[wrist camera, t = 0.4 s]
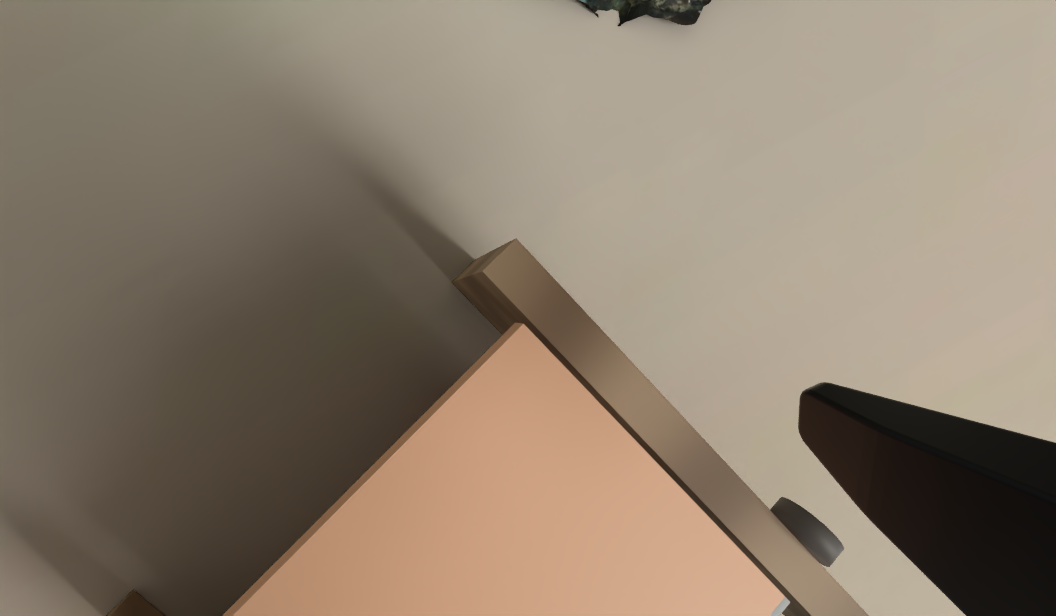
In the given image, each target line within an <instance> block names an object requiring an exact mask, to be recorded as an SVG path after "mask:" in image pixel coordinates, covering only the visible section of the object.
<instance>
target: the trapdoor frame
mask: <svg viewBox="0 0 1056 616" xmlns="http://www.w3.org/2000/svg"><path fill="white" fill-rule="evenodd" d="M452 283H453V284H454V285H455V286H456V287H457V288H458V289H459V290H460V291H461V292H462V293H463V294H464V295H465V296H466V297H467V298H468V299H469V301H470V302H471V303H472V304H473V305H474V306H475V307H476V308H477V309H478V310H479V311H480V312H481V313H482V314H483V315H484V316H485V317H486V318H487V319H488V320H489V321H490V322H491V323H492V324H493V325H494V326H495V327H496V328H497V329H498V330H499V331H500V332H501V334H502V335H503V334H504V333H505V332H506V331H507V330H508V329H509V328H510V327H511V326H512V325H513V324H514V323H523V324H524V325H525V326H526V327H527V328H528V329H529V330H530V331H531V332H532V333H533V334H534V335H535V336H536V337H537V338H538V339H539V340H540V341H541V342H542V343H543V344H544V345H545V346H546V348H547V349H548V350H549V351H550V352H551V353H552V354H553V355H554V356H555V357H556V358H557V359H558V360H559V361H560V362H561V363H562V364H563V365H564V366H565V367H566V368H567V369H568V370H569V372H570V373H571V374H572V375H573V376H574V377H575V378H576V379H577V380H578V381H579V382H580V383H581V384H582V385H583V386H584V387H585V388H586V389H587V390H588V391H589V392H590V393H591V394H592V396H593V397H594V398H595V399H596V400H597V401H598V402H599V403H600V404H601V405H602V406H603V407H604V408H605V409H606V410H607V411H608V412H609V413H610V414H611V415H612V416H613V417H614V418H615V419H616V421H617V422H618V423H619V424H620V425H621V426H622V427H623V428H624V429H625V430H626V431H627V432H628V433H629V434H630V435H631V436H632V437H633V438H634V439H635V440H636V441H637V442H638V443H639V445H640V446H641V447H642V448H643V449H644V450H645V451H646V452H647V453H648V454H649V455H650V456H651V457H652V458H653V459H654V460H655V461H656V462H657V463H658V464H659V465H660V466H661V467H662V469H663V470H664V471H665V472H666V473H667V474H668V475H669V476H670V477H671V478H672V479H673V480H674V481H675V482H676V483H677V484H678V485H679V486H680V487H681V488H682V489H683V490H684V491H685V493H686V494H687V495H688V496H689V497H690V498H691V499H692V500H693V501H694V502H695V503H696V504H697V505H698V506H699V507H700V508H701V509H702V510H703V511H704V512H705V513H706V514H707V515H708V516H709V518H710V519H711V520H712V521H713V522H714V523H715V524H716V525H717V526H718V527H719V528H720V529H721V530H722V531H723V532H724V533H725V534H726V535H727V536H728V537H729V538H730V539H731V540H732V542H733V543H734V544H735V545H736V546H737V547H738V548H739V549H740V550H741V551H742V552H743V553H744V554H745V555H746V556H747V557H748V558H749V559H750V560H751V561H752V562H753V563H754V564H755V566H756V567H757V568H758V569H759V570H760V571H761V572H762V573H763V574H764V575H765V576H766V577H767V578H768V579H769V580H770V581H771V582H772V583H773V584H774V585H775V586H776V587H777V588H778V590H779V591H780V592H781V593H782V594H783V595H784V596H785V597H786V598H787V599H788V600H789V601H790V604H789V605H788V606H787V607H786V608H785V610H784V611H783V612H782V614H783V615H785V616H868V614H867V613H866V612H865V611H864V610H863V609H862V608H861V607H860V606H859V605H858V604H857V603H856V602H855V601H854V599H853V598H852V597H851V596H850V595H849V594H848V593H847V592H846V591H845V590H844V589H843V588H842V587H841V586H840V584H839V583H838V582H837V581H836V580H835V579H834V578H833V577H832V576H831V575H830V574H829V573H828V572H827V571H826V569H825V568H824V567H823V566H822V565H824V566H827V567H830V565H831V564H832V563H833V562H834V561H835V559H836V558H837V557H838V556H839V554H840V553H841V552H842V551H843V550H844V547H843V545H842V543H841V542H840V541H839V539H838V538H837V537H836V536H835V535H834V534H833V533H832V532H831V531H830V530H829V529H828V528H827V527H826V526H825V525H824V524H823V523H822V522H820V521H819V520H818V519H817V518H816V517H814V516H813V515H812V514H811V513H809V512H808V511H807V510H805V509H804V508H802V507H801V506H799V505H798V504H796V503H794V502H793V501H791V500H789V499H787V498H783V497H781V498H780V499H779V500H778V501H777V502H776V504H775V505H774V506H773V507H772V508H771V509H770V510H769V508H768V507H767V506H766V505H765V504H764V503H763V502H762V501H761V500H760V499H759V498H758V497H757V496H756V495H755V493H754V492H753V491H752V490H751V489H750V488H749V487H748V486H747V485H746V484H745V483H744V482H743V481H742V480H741V478H740V477H739V476H738V475H737V474H736V473H735V472H734V471H733V470H732V469H731V468H730V467H729V466H728V465H727V463H726V462H725V461H724V460H723V459H722V458H721V457H720V456H719V455H718V454H717V453H716V452H715V451H714V450H713V448H712V447H711V446H710V445H709V444H708V443H707V442H706V441H705V440H704V439H703V438H702V437H701V436H700V435H699V433H698V432H697V431H696V430H695V429H694V428H693V427H692V426H691V425H690V424H689V423H688V422H687V421H686V420H685V419H684V417H683V416H682V415H681V414H680V413H679V412H678V411H677V410H676V409H675V408H674V407H673V406H672V405H671V404H670V402H669V401H668V400H667V399H666V398H665V397H664V396H663V395H662V394H661V393H660V392H659V391H658V390H657V389H656V387H655V386H654V385H653V384H652V383H651V382H650V381H649V380H648V379H647V378H646V377H645V376H644V375H643V374H642V372H641V371H640V370H639V369H638V368H637V367H636V366H635V365H634V364H633V363H632V362H631V361H630V360H629V359H628V357H627V356H626V355H625V354H624V353H623V352H622V351H621V350H620V349H619V348H618V347H617V346H616V345H615V344H614V342H613V341H612V340H611V339H610V338H609V337H608V336H607V335H606V334H605V333H604V332H603V331H602V330H601V329H600V327H599V326H598V325H597V324H596V323H595V322H594V321H593V320H592V319H591V318H590V317H589V316H588V315H587V314H586V313H585V311H584V310H583V309H582V308H581V307H580V306H579V305H578V304H577V303H576V302H575V301H574V300H573V299H572V298H571V296H570V295H569V294H568V293H567V292H566V291H565V290H564V289H563V288H562V287H561V286H560V285H559V284H558V283H557V281H556V280H555V279H554V278H553V277H552V276H551V275H550V274H549V273H548V272H547V271H546V270H545V269H544V268H543V266H542V265H541V264H540V263H539V262H538V261H537V260H536V259H535V258H534V257H533V256H532V255H531V254H530V253H529V251H528V250H527V249H526V248H525V247H524V246H523V245H522V244H521V243H520V242H519V241H518V240H517V239H514V240H512V241H510V242H508V243H506V244H504V245H502V246H501V247H499V248H497V249H495V250H493V251H491V252H489V253H487V254H485V255H483V256H481V257H479V258H478V259H476V260H474V261H473V262H472V263H471V264H470V265H469V266H468V267H467V268H466V269H465V270H464V271H463V272H462V273H461V274H460V275H459V276H458V277H457V278H456V279H455V280H454V281H453V282H452ZM820 563H821V564H822V565H821V564H820ZM107 616H164V615H163V614H162V613H161V612H159V611H158V610H157V609H156V608H155V607H153V606H152V605H151V604H150V603H149V602H147V601H146V600H145V599H144V598H142V597H141V596H140V595H139V594H138V593H136V592H135V591H134V590H133V591H132V592H130V593H129V594H128V595H127V596H126V597H125V598H124V599H123V600H122V601H121V602H120V603H119V604H118V605H117V606H116V607H115V608H114V609H113V610H112V611H111V612H110V613H109V614H108V615H107Z"/></svg>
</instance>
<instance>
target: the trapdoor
mask: <svg viewBox="0 0 1056 616" xmlns="http://www.w3.org/2000/svg"><path fill="white" fill-rule="evenodd" d="M789 604H790V601H789V600H788V599H787V598H786V597H785V596H784V595H783V594H782V593H781V592H780V591H779V590H778V588H777V587H776V586H775V585H774V584H773V583H772V582H771V581H770V580H769V579H768V578H767V577H766V576H765V575H764V574H763V573H762V572H761V571H760V570H759V569H758V568H757V567H756V566H755V564H754V563H753V562H752V561H751V560H750V559H749V558H748V557H747V556H746V555H745V554H744V553H743V552H742V551H741V550H740V549H739V548H738V547H737V546H736V545H735V544H734V543H733V542H732V540H731V539H730V538H729V537H728V536H727V535H726V534H725V533H724V532H723V531H722V530H721V529H720V528H719V527H718V526H717V525H716V524H715V523H714V522H713V521H712V520H711V519H710V518H709V516H708V515H707V514H706V513H705V512H704V511H703V510H702V509H701V508H700V507H699V506H698V505H697V504H696V503H695V502H694V501H693V500H692V499H691V498H690V497H689V496H688V495H687V494H686V493H685V491H684V490H683V489H682V488H681V487H680V486H679V485H678V484H677V483H676V482H675V481H674V480H673V479H672V478H671V477H670V476H669V475H668V474H667V473H666V472H665V471H664V470H663V469H662V467H661V466H660V465H659V464H658V463H657V462H656V461H655V460H654V459H653V458H652V457H651V456H650V455H649V454H648V453H647V452H646V451H645V450H644V449H643V448H642V447H641V446H640V445H639V443H638V442H637V441H636V440H635V439H634V438H633V437H632V436H631V435H630V434H629V433H628V432H627V431H626V430H625V429H624V428H623V427H622V426H621V425H620V424H619V423H618V422H617V421H616V419H615V418H614V417H613V416H612V415H611V414H610V413H609V412H608V411H607V410H606V409H605V408H604V407H603V406H602V405H601V404H600V403H599V402H598V401H597V400H596V399H595V398H594V397H593V396H592V394H591V393H590V392H589V391H588V390H587V389H586V388H585V387H584V386H583V385H582V384H581V383H580V382H579V381H578V380H577V379H576V378H575V377H574V376H573V375H572V374H571V373H570V372H569V370H568V369H567V368H566V367H565V366H564V365H563V364H562V363H561V362H560V361H559V360H558V359H557V358H556V357H555V356H554V355H553V354H552V353H551V352H550V351H549V350H548V349H547V348H546V346H545V345H544V344H543V343H542V342H541V341H540V340H539V339H538V338H537V337H536V336H535V335H534V334H533V333H532V332H531V331H530V330H529V329H528V328H527V327H526V326H525V325H524V324H523V323H514V324H513V325H512V326H511V327H510V328H509V329H508V330H507V331H506V332H505V333H504V334H503V335H502V336H501V337H500V338H499V339H498V340H497V341H496V342H495V343H494V344H493V345H492V346H491V347H490V348H489V349H488V350H487V351H486V352H485V353H484V354H483V355H482V356H481V357H480V358H479V359H478V360H477V361H476V362H475V363H474V364H473V365H472V366H471V367H470V368H469V369H468V370H467V371H466V372H465V373H464V374H463V375H462V376H461V377H460V378H459V379H458V380H457V381H456V382H455V383H454V384H453V385H452V386H451V387H450V388H449V389H448V390H447V391H446V392H445V393H444V394H443V395H442V396H441V397H440V398H439V399H438V400H437V401H436V402H435V403H434V404H433V405H432V406H431V407H430V408H429V409H428V410H427V411H426V412H425V413H424V414H423V415H422V416H421V417H420V418H419V419H418V420H417V421H416V422H415V423H414V424H413V425H412V426H411V427H410V428H409V429H408V430H407V431H406V432H405V433H404V434H403V435H402V436H401V437H400V438H399V439H398V440H397V441H396V442H395V443H394V444H393V445H392V446H391V447H390V448H389V449H388V450H387V451H386V452H385V453H384V454H383V455H382V456H381V457H380V458H379V459H378V460H377V461H376V462H375V463H374V464H373V465H372V466H371V467H370V468H369V469H368V470H367V471H366V472H365V473H364V474H363V475H362V476H361V477H360V478H359V479H358V480H357V481H356V482H355V483H354V484H353V485H352V486H351V487H350V488H349V489H348V490H347V491H346V492H345V493H344V494H343V495H342V496H341V497H340V498H339V499H338V500H337V501H336V502H335V503H334V504H333V505H332V506H331V507H330V508H329V509H328V510H327V511H326V512H325V513H324V514H323V515H322V516H321V517H320V518H319V519H318V520H317V521H316V522H315V523H314V524H313V525H312V526H311V527H310V528H309V529H308V530H307V531H306V532H305V533H304V534H303V535H302V536H301V537H300V538H299V539H298V540H297V541H296V542H295V543H294V544H293V545H292V546H291V547H290V548H289V549H288V550H287V551H286V552H285V553H284V554H283V555H282V556H281V557H280V558H279V559H278V560H277V561H276V562H275V563H274V564H273V565H272V566H271V567H270V568H269V569H268V570H267V571H266V572H265V573H264V574H263V575H262V576H261V577H260V578H259V579H258V580H257V581H256V582H255V583H254V584H253V585H252V586H251V587H250V588H249V589H248V590H247V591H246V592H245V593H244V594H243V595H242V596H241V597H240V598H239V599H238V600H237V601H236V602H235V603H234V604H233V605H232V606H231V607H230V608H229V609H228V610H227V611H226V612H225V613H224V614H223V615H222V616H780V615H781V613H782V612H783V611H784V610H785V608H786V607H787V606H788V605H789Z"/></svg>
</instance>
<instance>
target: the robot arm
mask: <svg viewBox="0 0 1056 616" xmlns="http://www.w3.org/2000/svg"><path fill="white" fill-rule="evenodd" d="M798 429H799V433H800V435H801V438H802V439H803V441H804V442H805V444H806V445H807V446H808V447H809V449H810V450H811V451H812V452H813V453H814V455H815V456H816V457H817V458H818V459H819V461H820V462H821V463H822V464H823V465H824V467H825V468H826V469H827V470H828V471H829V473H830V474H831V475H832V476H833V477H834V479H835V480H836V481H837V482H838V483H839V485H840V486H841V487H842V488H843V489H844V491H845V492H846V493H847V494H848V495H849V497H850V498H851V499H852V500H853V501H854V503H855V504H856V505H857V506H858V507H859V508H860V510H861V511H862V512H863V513H864V514H865V515H866V516H867V517H868V518H869V519H870V520H871V521H872V522H873V523H874V525H875V526H876V527H877V528H878V529H879V530H880V531H881V532H882V533H883V534H884V535H885V536H886V537H887V538H888V539H889V540H890V541H891V542H892V543H893V544H894V545H895V546H896V547H898V548H899V549H900V550H901V551H902V552H903V553H904V554H905V555H906V556H907V557H908V558H909V559H910V560H911V561H912V562H913V563H914V564H915V565H916V566H917V567H918V568H919V569H920V570H921V571H922V572H923V573H924V574H925V575H926V576H927V577H928V578H929V579H930V580H931V581H932V582H933V583H934V584H935V585H936V586H937V587H938V588H939V589H940V590H941V591H942V592H943V593H944V594H945V595H946V596H947V597H948V598H949V599H950V600H951V601H952V602H953V603H954V604H955V605H956V606H957V607H958V608H959V609H960V610H961V611H962V612H963V613H964V614H965V615H966V616H1056V443H1054V442H1051V441H1047V440H1043V439H1039V438H1035V437H1032V436H1028V435H1024V434H1020V433H1017V432H1013V431H1009V430H1005V429H1001V428H998V427H994V426H990V425H986V424H983V423H979V422H975V421H971V420H968V419H964V418H960V417H956V416H952V415H949V414H945V413H941V412H937V411H934V410H930V409H926V408H922V407H918V406H915V405H911V404H907V403H903V402H900V401H896V400H892V399H888V398H884V397H881V396H877V395H873V394H869V393H866V392H862V391H858V390H854V389H850V388H847V387H843V386H839V385H835V384H832V383H826V382H823V383H819V384H817V385H815V386H812V387H810V388H808V389H806V390H804V391H803V392H802V394H801V396H800V405H799V423H798Z"/></svg>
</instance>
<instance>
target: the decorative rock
mask: <svg viewBox="0 0 1056 616" xmlns="http://www.w3.org/2000/svg"><path fill="white" fill-rule="evenodd" d="M579 1H582V2H584V3H586V4H587V5H586V7H588V8H591V9H592V11H593V13H594V14H595V15H596V16H597V17H598V14H597V13H595V12H596V11H597V10H605V11H608V10H610V9H613V10H616V11H619V17H620V23H619V25H618V26H621V24H623V23H624V22H626V21H630V20H633V19H635V18H637V17H640V16H643V15H646V14H647V15H649V16H652V17H655V18H664V19H667V20H670V21H672V22H675V23H677V24H681V25H692V24H694V23H695V22H696V21H697V19H698V17H699V15H700V13H701V11H702V8H703V6H705V5H707V4H709V3H710V2H711V0H579Z"/></svg>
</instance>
